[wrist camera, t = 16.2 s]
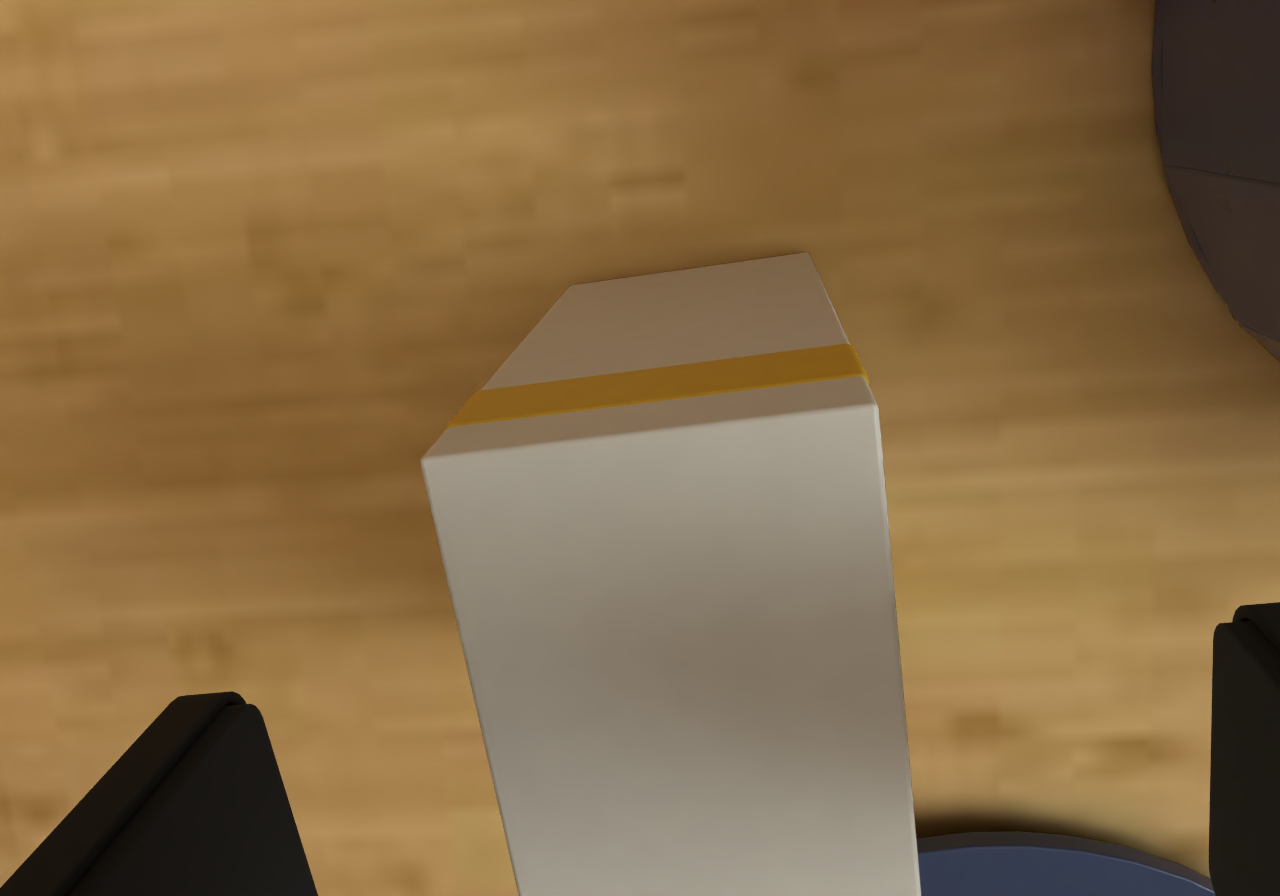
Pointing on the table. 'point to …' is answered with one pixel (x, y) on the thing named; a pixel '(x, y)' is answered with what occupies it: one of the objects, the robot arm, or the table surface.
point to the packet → (683, 593)
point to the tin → (1225, 146)
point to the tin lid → (1047, 867)
